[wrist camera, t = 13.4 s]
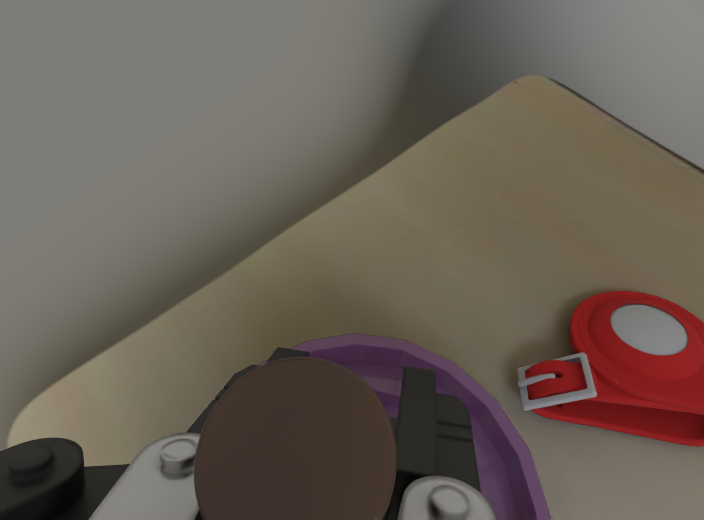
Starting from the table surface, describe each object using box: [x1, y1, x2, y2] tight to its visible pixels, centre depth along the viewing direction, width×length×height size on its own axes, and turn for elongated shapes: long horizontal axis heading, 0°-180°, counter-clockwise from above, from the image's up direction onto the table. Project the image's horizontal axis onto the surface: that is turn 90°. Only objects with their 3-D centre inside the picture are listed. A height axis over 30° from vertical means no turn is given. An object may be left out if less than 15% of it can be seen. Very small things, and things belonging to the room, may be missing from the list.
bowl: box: [257, 333, 551, 520], centre depth 23 cm, size 16×16×6 cm
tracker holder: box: [517, 291, 704, 446], centre depth 27 cm, size 12×4×10 cm
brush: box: [194, 357, 398, 520], centre depth 10 cm, size 6×4×11 cm
